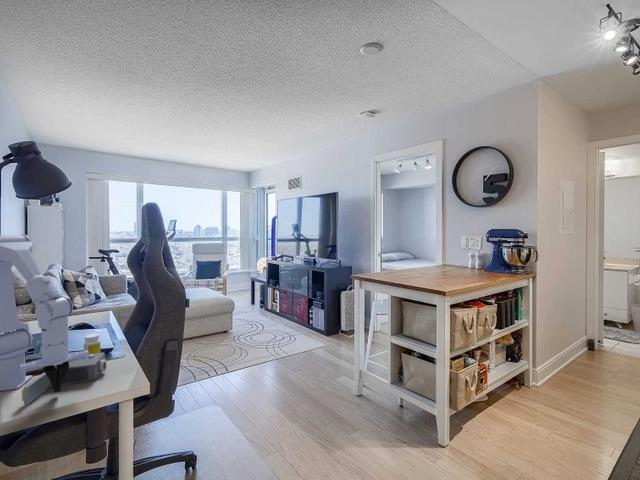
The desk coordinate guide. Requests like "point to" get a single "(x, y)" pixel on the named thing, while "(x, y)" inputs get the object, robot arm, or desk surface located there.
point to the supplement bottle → (92, 344)
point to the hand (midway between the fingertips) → (57, 390)
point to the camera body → (85, 369)
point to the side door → (35, 388)
